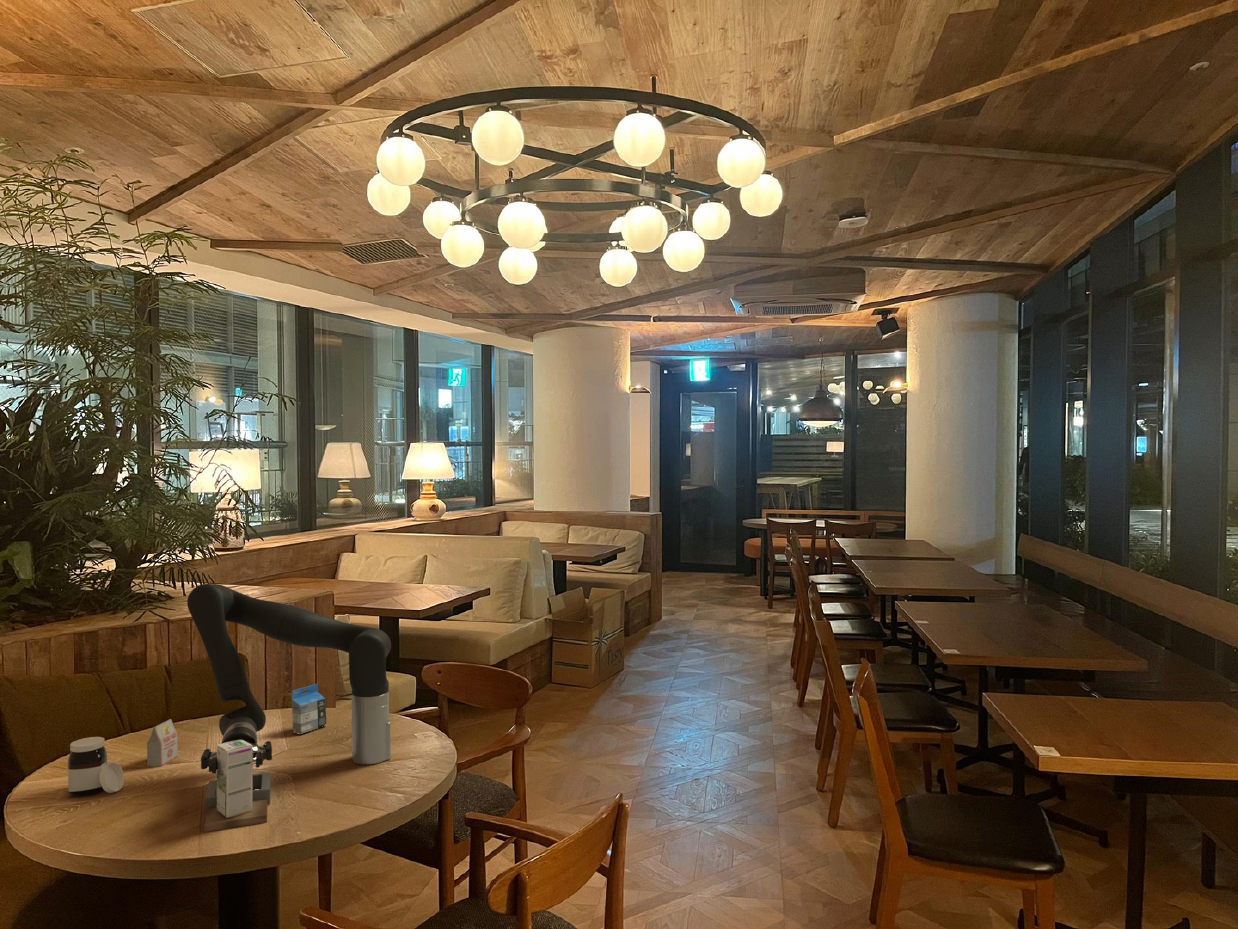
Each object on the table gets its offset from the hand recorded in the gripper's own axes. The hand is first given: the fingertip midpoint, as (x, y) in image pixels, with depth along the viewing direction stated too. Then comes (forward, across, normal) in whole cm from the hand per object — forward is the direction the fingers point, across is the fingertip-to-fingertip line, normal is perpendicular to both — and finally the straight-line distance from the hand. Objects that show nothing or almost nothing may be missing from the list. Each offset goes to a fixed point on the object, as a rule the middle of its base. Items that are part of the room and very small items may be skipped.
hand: (235, 766), depth 175 cm
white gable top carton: (-47, -20, +12) cm, 53 cm away
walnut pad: (-2, 0, +12) cm, 12 cm away
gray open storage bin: (-12, 0, +12) cm, 17 cm away
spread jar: (-32, -32, +12) cm, 47 cm away
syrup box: (-2, -1, +11) cm, 11 cm away
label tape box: (-58, +16, +12) cm, 62 cm away
